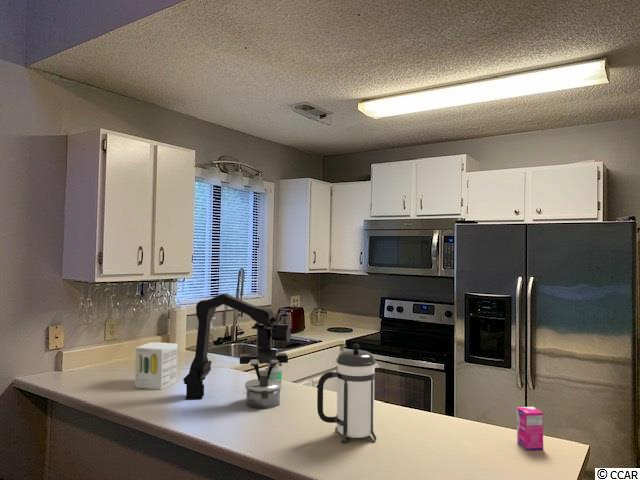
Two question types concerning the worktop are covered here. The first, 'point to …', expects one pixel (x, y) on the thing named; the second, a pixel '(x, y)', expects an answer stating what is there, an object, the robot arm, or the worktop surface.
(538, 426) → the supplement box
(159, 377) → the supplement box
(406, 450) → the worktop surface
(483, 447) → the worktop surface
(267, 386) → the lid
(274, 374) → the food container
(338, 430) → the coffee press
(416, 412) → the worktop surface
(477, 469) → the worktop surface
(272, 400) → the pot
